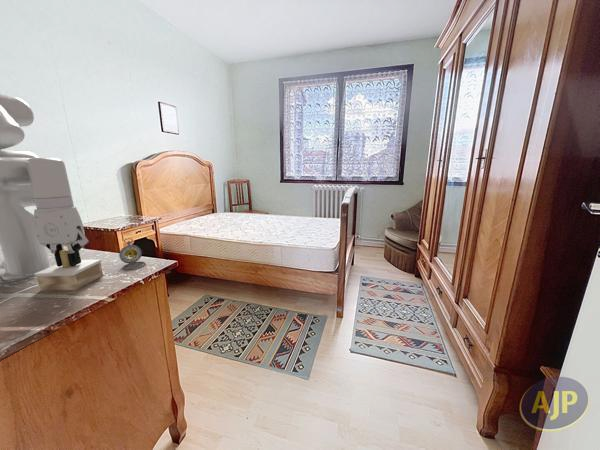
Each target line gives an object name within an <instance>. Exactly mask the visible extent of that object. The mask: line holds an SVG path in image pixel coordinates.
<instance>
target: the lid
mask: <svg viewBox="0 0 600 450" xmlns="http://www.w3.org/2000/svg"><path fill="white" fill-rule="evenodd" d="M59 253H60V257H61V261H62V265H63V266H60V267H58V266H57V264H56V265H54V266H52V267H49V268H47V269H45V270H42V271H40V272H37V273H35V274H34V275H35V276H34V277H37V276H73V275H75V274H77V273H80V272H82V271H84V270H86V269H88V268H90V267H92V266H94V265H96V264H98V263H102V259H81V263H79V264H77V265H75V266H70V264H69V260H68V255H67V254H68V253H69V251H68V248H64V250H60V251H59Z"/></svg>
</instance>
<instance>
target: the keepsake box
mask: <svg viewBox="0 0 600 450" xmlns="http://www.w3.org/2000/svg"><path fill="white" fill-rule="evenodd" d="M103 275H104V273H103V269H102V262H100V263H98V264H96V265H94V266H92V267H90V268H88V269H86V270H84V271H82V272H80V273H77V274H75V275H73V276H36V280H37V283H38V287H39V291H43V292H44V291H77V290H79V289H80V288H83V287H84V286H86V285H87V284H89V283H91V282H94V281H95V280H97V279H98V278H100V277H102V276H103Z"/></svg>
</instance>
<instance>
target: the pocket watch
mask: <svg viewBox="0 0 600 450" xmlns="http://www.w3.org/2000/svg"><path fill="white" fill-rule="evenodd" d="M126 240H128V241H126ZM130 240H131V241H130ZM132 242H133V238H132V237H131V238H129V237H128V238H125V239H124V240H123V243H125V244H128V245H126V246H124V247H123V248H121V249H120V251H119V253H118V257H119V259H120V261H121V262H123V263H125V265H123V267H122V268H123V270H125V271H131V270H132V271H133V270H138V269H141V268H143V267H145V266H146V262H145V261H140V259H141V257H142V254H143V253H142V252H143V251H142V249H141V248H140V247H139V246H138V245H135V244H131V243H132ZM135 264H142V265H140V266H138V267H133V268H126V267H128V266H130V265H135Z"/></svg>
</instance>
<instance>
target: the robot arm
mask: <svg viewBox="0 0 600 450" xmlns="http://www.w3.org/2000/svg"><path fill="white" fill-rule="evenodd" d="M34 117H35V116H34V112H33V110H32V108H31V107H30V105H29V104H28V103H27V102H26V101H24V100H23V99H22V98H19V97H17V96H13V95H12V96H11V95H7V94H1V93H0V249H1V253H2V255H3V259H4V261H2V263H1V264H0V270H1V269H3V270H4V271H5V272H4V273H3V274H2V275H1V279H2V280H4V281H10V280H11V281H12V280H21V279H25V278H26V279H27V278H32V277H36V276H35V275H34V274H35V273H37V272H40V271H42V270H45V269H47V268H49V267H52V266H54V265H57V266H58V267H60V266H63V265H62V261H61V257H60V253H59V251H60V250H64V249H65V247H64V245H66V249H68V251H69V253H68V254H67V255H68V260H69V264H70V266H75V265H77V264H79V263H81V260H82V258H81V254H80V251H81V249H82V247H84V246H85V245H87V244H89V242H90V241H89V239H88V238H87V236H86V234H85V227H84V224H83V221H82V219H81V216H80V213H79V211H78V209H77V206H75V205H74V201H73V196H72V191H71V187H70V182H69V179H68V172H67V169H66V164H65V162H64V161H63V160H62V159H60V158H55V157H39V156H38V155H37V154H35V153H34V152H31V151H28V150H27V151H26V150H14V149H13V150H11V149H9V148H12V147H15V146H18V145H19V144H21V143H22V142H23V141H24V139H25V136H26V134H25V132H24V130H23V129H22V127H28V126H31V125H32V124H33V122H34ZM33 206H34V207H35V208H36V209H34V210H33V211H34V212H33V213H32V212H30V211H28V210H27V209H26V208H29V207H33ZM47 249H49V251H50V253H51V254H53V255H54V259H55V262H50V259H49V256H48V252H47Z"/></svg>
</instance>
